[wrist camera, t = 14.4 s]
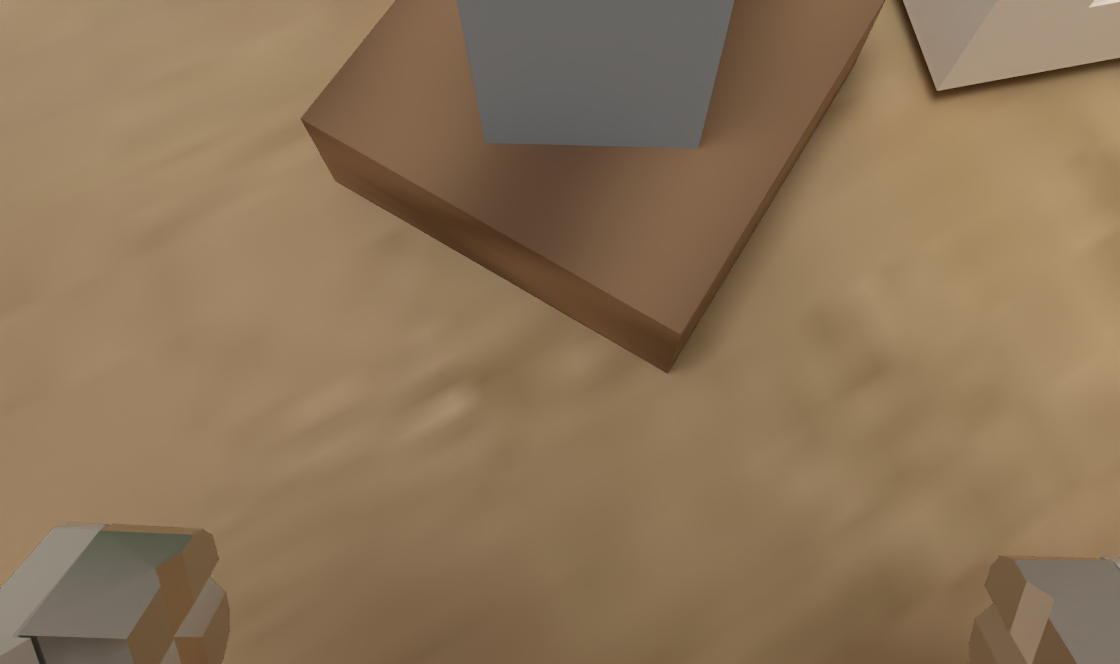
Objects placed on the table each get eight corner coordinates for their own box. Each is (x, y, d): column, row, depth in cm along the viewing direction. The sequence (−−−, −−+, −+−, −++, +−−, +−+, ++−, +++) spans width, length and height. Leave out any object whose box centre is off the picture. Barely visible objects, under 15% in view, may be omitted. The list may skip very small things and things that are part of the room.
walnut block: (335, 180, 23) (300, 118, 20) (539, -85, 26) (534, -172, 23) (667, 373, 21) (680, 334, 19) (852, 67, 24) (888, -7, 21)
